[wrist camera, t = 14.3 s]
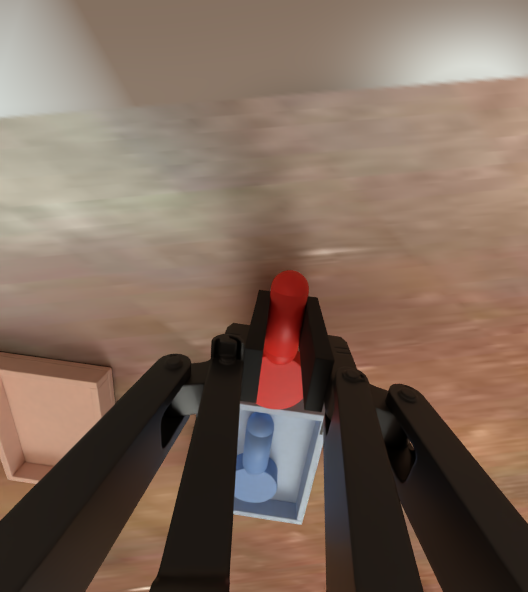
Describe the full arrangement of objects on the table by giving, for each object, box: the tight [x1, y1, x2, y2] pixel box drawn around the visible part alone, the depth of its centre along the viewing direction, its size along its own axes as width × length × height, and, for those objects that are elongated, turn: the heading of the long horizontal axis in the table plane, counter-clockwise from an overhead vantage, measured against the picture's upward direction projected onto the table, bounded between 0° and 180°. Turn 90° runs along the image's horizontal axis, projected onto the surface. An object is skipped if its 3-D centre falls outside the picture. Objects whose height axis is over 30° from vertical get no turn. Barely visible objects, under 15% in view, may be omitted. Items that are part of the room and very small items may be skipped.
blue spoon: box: [234, 412, 278, 503], centre depth 23 cm, size 10×4×2 cm, turn 174°
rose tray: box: [0, 352, 115, 484], centre depth 25 cm, size 13×10×2 cm
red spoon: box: [256, 270, 309, 409], centre depth 17 cm, size 10×4×2 cm, turn 173°
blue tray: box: [196, 399, 325, 525], centre depth 24 cm, size 13×10×2 cm
